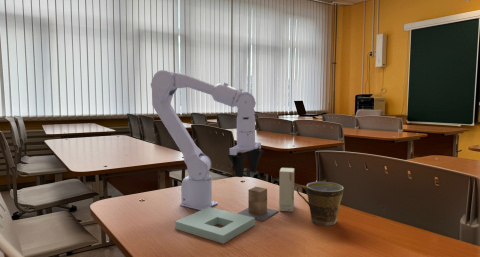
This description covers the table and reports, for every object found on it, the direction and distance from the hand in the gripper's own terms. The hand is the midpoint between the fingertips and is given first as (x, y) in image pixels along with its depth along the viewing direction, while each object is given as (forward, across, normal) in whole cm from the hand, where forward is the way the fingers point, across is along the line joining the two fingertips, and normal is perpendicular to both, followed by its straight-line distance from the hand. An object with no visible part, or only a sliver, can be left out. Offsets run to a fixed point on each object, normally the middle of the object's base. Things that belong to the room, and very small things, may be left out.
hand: (246, 174), depth 108 cm
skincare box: (+10, +5, -12) cm, 16 cm away
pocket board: (+10, -19, -3) cm, 22 cm away
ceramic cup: (+10, +1, -24) cm, 26 cm away
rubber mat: (+10, -4, -7) cm, 13 cm away
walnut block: (+10, -4, -7) cm, 13 cm away
